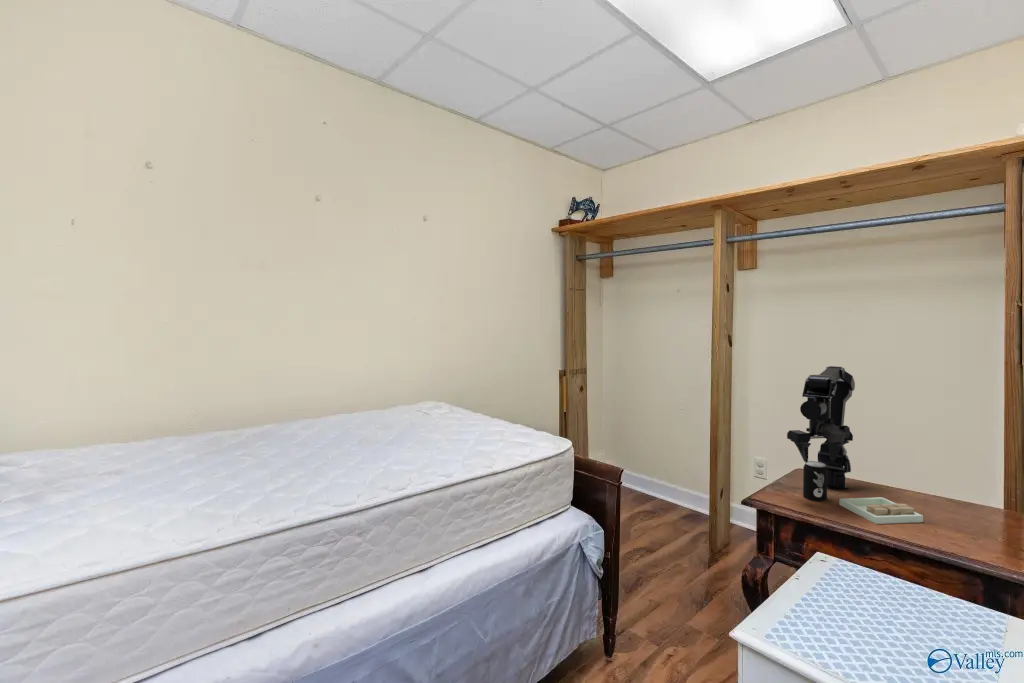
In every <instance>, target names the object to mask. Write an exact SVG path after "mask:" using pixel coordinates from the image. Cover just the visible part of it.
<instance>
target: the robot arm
mask: <svg viewBox="0 0 1024 683" xmlns="http://www.w3.org/2000/svg"><path fill="white" fill-rule="evenodd" d="M855 387H856V382H855V379H854V376H853V375H852V374H850V373H849V372H847V371H846V369H845V367H842V366H837V365H836V366H833V365H832V366H831V365H830V366H826V367H825V369H824V370H823V371H822V372H820V373H819V374H810V375H809V376H808V377H807V378H806V379H805V381H804V386H803V391H802V398H804V397H805V398H806V399H807V400H806V401H804V402H803V403H802V404H801V405H800V408H799V410H800V413H801V415H802V416H803V417H804V418H806V419H807V420H809V423H808V424H809V426H808V427H806V429H805V430H806V431H802V430H800V429H796V430H795V429H794V430H793V429H791V430H788V431H787V433H786V438H787V439H788V440H790V441H791V442H793V443H794V445H795V446H796V448H797V450H798V451H799V454H800V456H801V458H802V460H803V461H804V463H805V462H808V461H809V447H810V446H811V445H812V443H811V442H810V441H811V440H812V439H813V440H814V439H826V440H825V441H823V442H822V443H821V444H820V448H819V450H818V452H817V462H821V463H824V464H825V465H826V466H825V467H826V468H827V489H828V488H829V489H830V490H849V489H850V487H849V486H847V485H846V474H847V473H851V472H852V468H851V467H852V465H851V462H850V461H851V460H850V459H849V456H848V455H847V454H848V453H847V449H846V448H845V445H846V444H849V443H850V442H853V441H854V435H853V433H852V432H851V430H850V426H848V425H844V423H845V413H846V403H847V402H848V401H849V400H850V399H851V397H852V395H853V392H854V391H855Z"/></svg>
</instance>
